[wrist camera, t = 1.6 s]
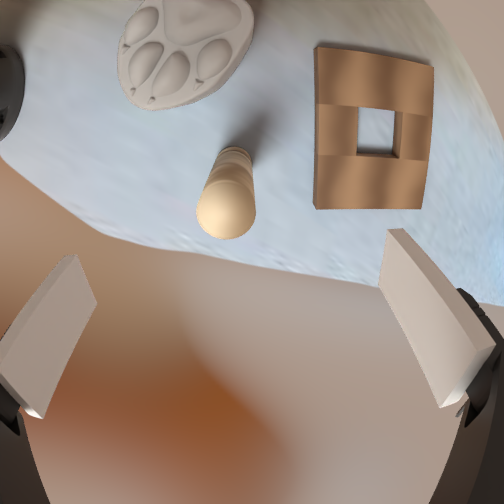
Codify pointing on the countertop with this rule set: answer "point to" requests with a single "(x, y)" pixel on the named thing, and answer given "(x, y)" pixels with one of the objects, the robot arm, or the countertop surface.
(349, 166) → the seat board
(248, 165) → the leg
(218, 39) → the lumpy-topped squat cylinder
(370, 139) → the countertop surface
